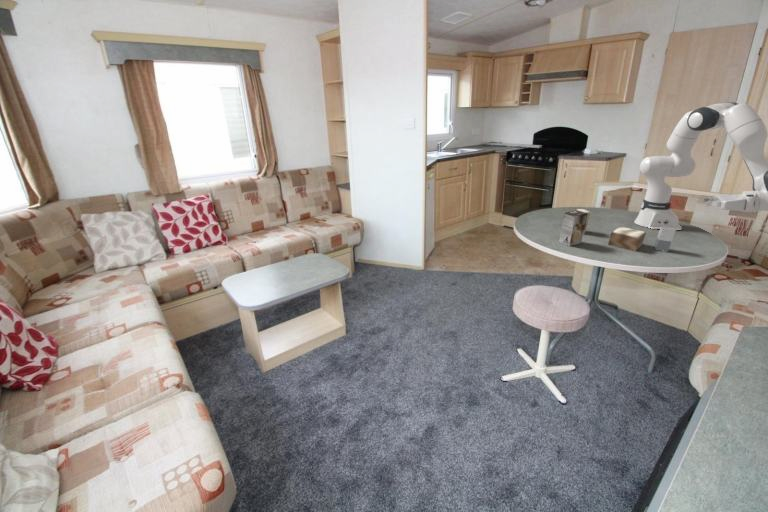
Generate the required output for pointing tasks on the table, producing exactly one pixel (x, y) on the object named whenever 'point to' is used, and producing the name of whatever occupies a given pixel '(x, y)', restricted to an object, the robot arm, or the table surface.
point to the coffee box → (573, 227)
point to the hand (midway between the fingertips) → (704, 201)
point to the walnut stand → (627, 238)
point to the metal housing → (664, 238)
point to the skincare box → (587, 217)
